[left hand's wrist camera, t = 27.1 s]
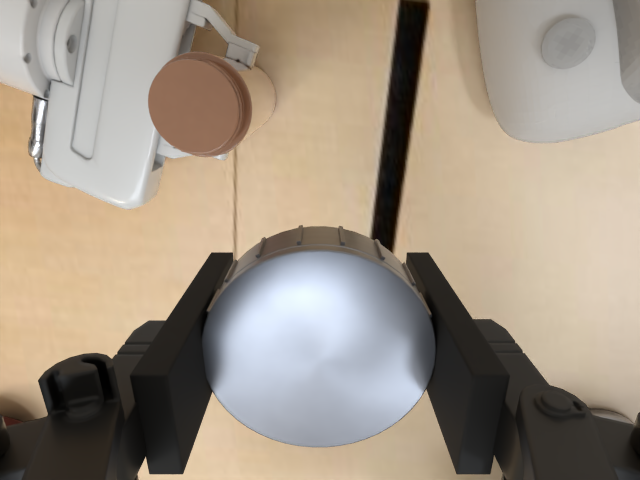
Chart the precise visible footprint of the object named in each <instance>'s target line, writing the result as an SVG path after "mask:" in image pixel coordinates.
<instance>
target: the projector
mask: <svg viewBox="0 0 640 480" xmlns="http://www.w3.org/2000/svg"><path fill="white" fill-rule="evenodd" d="M475 2H476V16H477V28H478V38H479V46H480V54H481V61H482V67H483V74H484V79H485V84H486V89H487V93H488V97H489V101H490V104H491V107H492V110H493V113H494V115H495V118H496V120H497V122H498V123H499V125H500V127H501V128H502V129H503V130H504V132H505V133H506V134H508V135H509V136H511V137H513V138H515V139H517V140H521V141H524V142H531V143H555V142H562V141H568V140H572V139H577V138H582V137H586V136H590V135H593V134H597V133H601V132H604V131H608V130H611V129H615V128H617V127H620V126H622V125H625V124H628V123H632V122H635V121H639V120H640V0H475Z"/></svg>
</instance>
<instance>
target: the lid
mask: <svg viewBox="0 0 640 480" xmlns="http://www.w3.org/2000/svg"><path fill="white" fill-rule="evenodd" d="M415 285H416V283H415V281H414V279H413V277H412V275H411V273H410V271H409V269H408V267H407V265H406V264H405V262H404V263H403V264H402V263H401V262H400V261H399V260H398V259H397V258H396V257H395V256H394V255H393V254H392V253H391V252H390V251H389V250H387V249H386V248H385V247H383V246H382V245H381V244H380V242H379V240H377V239H375V241H374V240H372V239H370V238H368V237H366V236H364V235H361V234H359V233H356V232H353V231H349V230H345V229H343V227H342V226H339V228H334V227H326V226H320V227H303V225H301V226H299V228H296V229H292V230H288V231H284V232H281V233H279V234H276V235H274V236H271V237H269V238H267V239H266V238H265V237H264V238H262V240H261V242H260V243H258V244H257V245H255V246H254V247H253V248H251V249H250V250H249V251H247V252H246V253H245V254H244V255H243V256H242V257H241V258H240V259H239V260H238V261H237V260H234V262H233V264H232V266H231V267H230V269H229V271H228V273H227V275H226V277H225V279H224V282H223V284H222V286H221V288H220V289H217V291H216V293H215V295H214V297H213V299H212V301H211V303H210V305H209V307H208V309H207V311H206V314H208V315H207V318H206V320H205V323H204V326H203V331H202V348H203V356H204V364H205V373H206V379H207V381H208V383H209V385H210V388H211V390H212V391H213V393H214V394H215V396H216V398H217V399H218V401H219V402H220V403H221V404H222V405H223V407H224V408H225V409H226V410H227V411H228V412H229V413H230V414H231V415H232V416H233V417H234V418H236V419H237V420H238V421H239V422H241V423H242V424H244V425H245V426H246V427H248V428H250V429H251V430H253V431H255V432H257V433H259V434H261V435H263V436H265V437H268V438H270V439H273V440H276V441H279V442H283V443H287V444H292V445H297V446H305V447H332V446H341V445H346V444H351V443H355V442H358V441H361V440H364V439H367V438H370V437H372V436H374V435H376V434H379V433H381V432H382V431H384V430H386V429H388V428H389V427H391V426H392V425H394V424H395V423H396V422H398V421H399V420H401V419H402V418H403V417H404V416H405V415H406V414H407V413H408V412H409V411H410V410H411V409H412V408H413V407H414V406H415V404H416V403H417V402H418V401H419V400H420V398H421V396H422V395H423V393H424V392H425V390H426V388H427V386H428V384H429V381H430V379H431V377H432V373H433V369H434V366H435V359H436V336H435V331H434V326H433V323H432V320H431V318H432V314H431V312H430V310H429V308H428V306H427V304H426V302H425V300H424V298H423V296H422V294H421V292H420V293H419V292H418V290H417V288H416V286H415Z"/></svg>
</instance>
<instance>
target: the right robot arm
mask: <svg viewBox="0 0 640 480" xmlns="http://www.w3.org/2000/svg"><path fill="white" fill-rule="evenodd" d="M202 1H203V0H0V83H2V84H5V85H8V86H10V87H13V88H16V89H19V90H21V91H24V92H27V93H30V94H32V95H33V103H32V113H31V124H32V125H31V128H32V129H31V137H30V138H29V141H28V152H29V155H30V156H31V157H33V158H34V163H35V165H36V167H37V169H38V171H39V172H40V174H41V176H42V177H44V178H45V179H47V180H49V181H52V182H54V183H57V184H60V185H63V186H66V187H72V188H77V189H79V190H81V191H83V192H85V193H87V194H89V195H91V196H93V197H95V198H98V199H100V200H102V201H105V202H107V203H109V204H112V205H114V206H117V207H120V208H123V209H128V210H130V209H134V208H138V207H140V206H143V205H144V204H146V203H147V202H149V201H150V200H152V199H153V198H154V197H155V196H156V195H157V192H158V188H159V184H160V180H161V176H162V171H163V167H164V163H165V159H166V157H169V158H172V159H174V158H179V157H185V156H191V155H192V154H189V153H185V152H182V151H180V150H179V149H177V148H175V147H173V146H171V145H170V144H169V143H168V142H167V141H165V140H164V139H163V137H162V136H161V135H160V134H159V133H158V131H157V130H156V128H155V126H154V124H153V122H152V120H151V117H150V114H149V108H148V94H149V89H150V86H151V83H152V81H153V79H154V78H155V76H156V75H157V73H158V72H159V71H160V70H161V68H162V67H163V66H164V65H165V64H166V63H167V62H168V61H170V60H171V59H172V58H174V57H176V56H178V55H181V54H184V53H188V52H191V48H192V44H193V39H194V35H195V31H196V27H197V26H199V27H201V28H204V29H207V30H209V31H210V30H212V27H214V28H215V29H216V30H217V32H218V33H219V34H220V35H221V36H222V37H223V39H224V40H225V41H226V42H227V43H228V48H227V52H226V56H225V57H227V58H230V59H232V60H236V61H240V62H241V63H243V64H245V65H247V66H250V67H254V64H255V61H256V58H257V54H258V51H259V47H260V46H258V45H256V44H254V43H252V42H250V41H247V40H245V39H242V38H240V37H237V36H236V34H235V32H234V31H233V30H232V29H231V27H230V26H229V25H228V24H227V23H226V21H225V20H224V19H223V18H222V16H221V15H220V14H219V13H218V11H217V10H215V9H214V8H213V7H211V6H210V5H208V4H205V3H203V2H202ZM228 154H229V152H227V153H225V154H222V155H219V156H214V158H216V159H219V160H225V159H227V158H228ZM40 158H42V161H40Z"/></svg>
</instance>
